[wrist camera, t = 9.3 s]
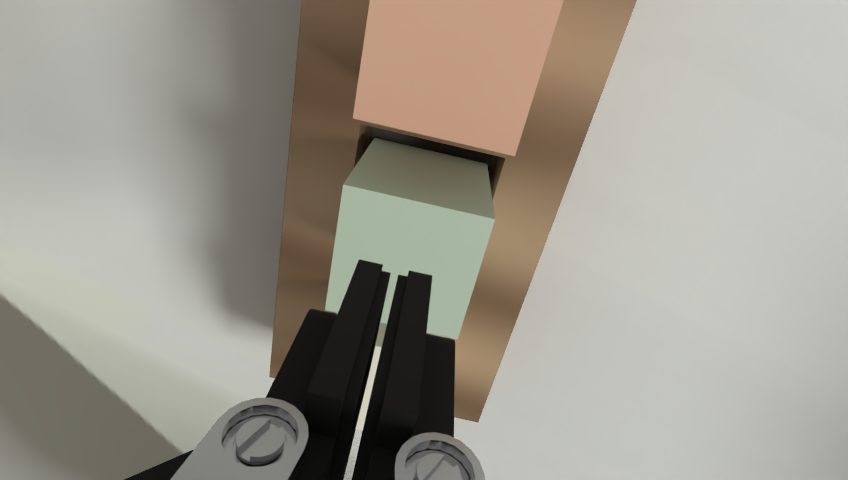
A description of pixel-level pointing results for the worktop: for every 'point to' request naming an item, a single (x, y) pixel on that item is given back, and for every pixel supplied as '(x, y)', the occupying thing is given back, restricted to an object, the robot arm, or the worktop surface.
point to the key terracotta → (455, 67)
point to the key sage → (415, 226)
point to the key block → (509, 175)
